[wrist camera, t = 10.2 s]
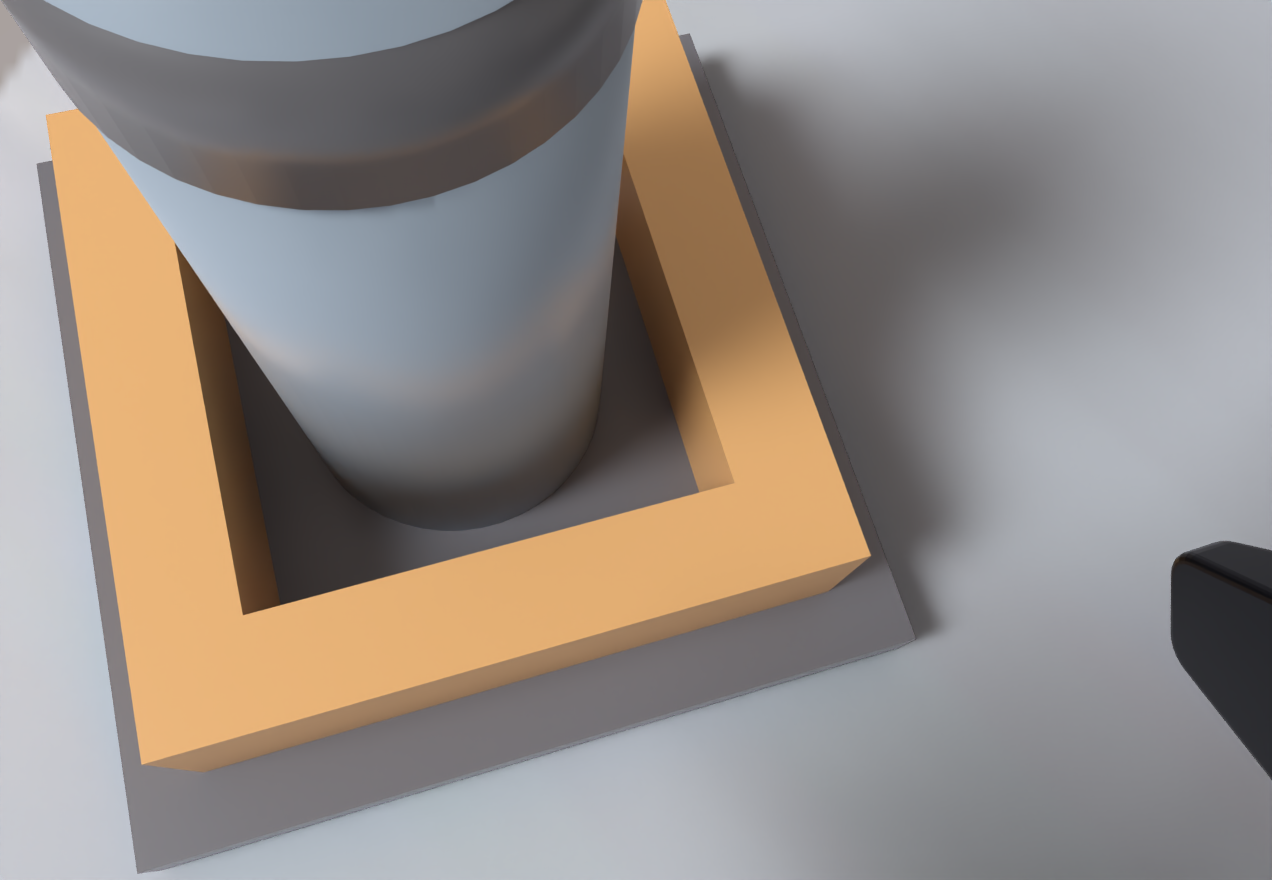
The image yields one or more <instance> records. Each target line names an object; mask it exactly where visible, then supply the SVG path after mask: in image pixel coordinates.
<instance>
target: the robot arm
mask: <svg viewBox="0 0 1272 880" xmlns="http://www.w3.org/2000/svg"><path fill="white" fill-rule="evenodd" d="M1171 640H1172V645H1173V649H1174V651H1175V654H1176V656H1177V658H1178V660H1179V662H1180V663H1181V665H1182V666H1183V668H1184V669H1185V671H1186V672H1187V673H1188V674H1189V676H1190V677H1191V678H1192V680H1193V681H1194V682H1195V683H1196V685H1197V686H1198V687H1199V688H1200V690H1201V691H1202V692H1203V693H1204V695H1205V696H1206V697H1207V699H1208V700H1209V701H1210V702H1211V704H1212V705H1213V706H1214V707H1215V709H1216V710H1217V711H1218V712H1219V714H1220V715H1221V716H1222V717H1223V719H1224V720H1225V721H1226V723H1227V724H1228V725H1229V726H1230V728H1231V729H1232V730H1233V731H1234V733H1235V734H1236V735H1237V736H1238V738H1239V739H1240V740H1241V742H1242V743H1243V744H1244V745H1245V747H1246V748H1247V749H1248V750H1249V752H1250V753H1251V754H1252V755H1253V757H1254V758H1255V759H1256V761H1257V762H1258V763H1259V764H1260V766H1261V767H1262V768H1263V769H1264V771H1265V772H1266V773H1267V774H1268V776H1269V777H1270V778H1271V779H1272V550H1267V549H1263V548H1258V547H1254V546H1250V545H1245V544H1241V543H1236V542H1231V541H1219V542H1215V543H1212V544H1209V545H1206V546H1203V547H1200V548H1197V549H1194V550H1190V551H1187V552H1184V553H1183V554H1181V555H1180V556H1178V557H1177V558H1176V559H1175V561H1174V563H1173V566H1172V570H1171Z"/></svg>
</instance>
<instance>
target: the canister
mask: <svg viewBox="0 0 1272 880" xmlns="http://www.w3.org/2000/svg"><path fill="white" fill-rule="evenodd" d="M1 1H2V3H3V4H4V6H5V7H6V9H7V10H8V11H9V13H10V14H11V16H12V17H13V19H14V20H15V22H16V23H17V24H18V26H19V27H20V28H21V30H22V32H23V33H24V35H25V36H26V37H27V39H28V40H29V42H30V43H31V45H32V46H33V48H34V49H35V50H36V52H37V53H38V55H39V56H40V58H41V59H42V61H43V62H44V63H45V65H46V66H47V68H48V69H49V71H50V72H51V74H52V75H53V76H54V78H55V79H56V81H57V82H58V83H59V85H60V86H61V87H62V89H63V90H64V91H65V93H66V94H67V95H68V97H69V98H70V99H71V100H72V102H73V103H74V104H75V106H76V107H77V108H78V110H79V111H80V112H81V113H82V114H83V115H84V116H85V117H87V118H88V119H89V120H90V121H91V122H92V123H93V124H94V125H95V126H96V127H97V129H98V130H99V132H100V133H101V135H102V136H103V138H104V139H105V141H106V142H107V143H108V145H109V146H110V148H111V149H112V151H113V152H114V154H115V155H116V157H117V158H118V160H119V161H120V163H121V164H122V166H123V167H124V168H125V170H126V171H127V173H128V174H129V176H130V177H131V179H132V180H133V182H134V183H135V185H136V186H137V188H138V189H139V190H140V192H141V193H142V195H143V196H144V198H145V199H146V201H147V202H148V204H149V205H150V207H151V208H152V210H153V211H154V213H155V214H156V215H157V217H158V218H159V220H160V221H161V223H162V224H163V226H164V227H165V229H166V230H167V232H168V233H169V235H170V236H171V237H172V239H173V240H174V242H175V243H176V245H177V246H178V248H179V249H180V251H181V252H182V254H183V255H184V257H185V258H186V260H187V261H188V262H189V264H190V265H191V267H192V268H193V270H194V271H195V273H196V274H197V276H198V277H199V279H200V280H201V282H202V283H203V284H204V286H205V287H206V289H207V290H208V292H209V293H210V295H211V296H212V298H213V299H214V301H215V302H216V304H217V305H218V307H219V308H220V309H221V311H222V312H223V314H224V315H225V317H226V318H227V320H228V321H229V323H230V324H231V326H232V327H233V329H234V330H235V331H236V333H237V334H238V336H239V337H240V339H241V340H242V342H243V343H244V345H245V346H246V348H247V349H248V351H249V352H250V354H251V355H252V356H253V358H254V359H255V361H256V362H257V364H258V365H259V367H260V368H261V370H262V371H263V373H264V374H265V376H266V377H267V378H268V380H269V381H270V383H271V384H272V386H273V387H274V389H275V390H276V392H277V393H278V395H279V396H280V398H281V399H282V400H283V402H284V403H285V405H286V406H287V408H288V409H289V411H290V412H291V414H292V415H293V417H294V418H295V420H296V421H297V423H298V424H299V425H300V427H301V428H302V430H303V431H304V433H305V434H306V436H307V437H308V439H309V440H310V442H311V443H312V445H313V446H314V447H315V449H316V450H317V452H318V453H319V455H320V456H321V458H322V459H323V461H324V462H325V464H326V465H327V467H328V468H329V469H330V471H331V472H332V473H333V475H334V476H335V477H336V479H337V480H338V481H339V483H340V484H341V485H342V486H343V487H344V488H345V489H346V490H347V491H348V492H349V493H350V494H351V495H352V496H354V497H355V498H356V499H358V500H359V501H360V502H362V503H363V504H364V505H366V506H367V507H368V508H370V509H372V510H374V511H376V512H377V513H379V514H381V515H383V516H385V517H387V518H389V519H392V520H395V521H397V522H400V523H402V524H406V525H410V526H414V527H418V528H422V529H430V530H438V531H464V530H471V529H478V528H484V527H487V526H491V525H495V524H498V523H502V522H504V521H507V520H509V519H511V518H514V517H516V516H519V515H521V514H522V513H524V512H526V511H528V510H529V509H531V508H533V507H535V506H537V505H538V504H539V503H541V502H542V501H543V500H545V499H546V498H547V497H549V496H550V495H551V494H552V493H553V492H554V491H555V490H556V489H557V488H559V487H560V486H561V485H562V484H563V483H564V482H565V481H566V479H567V478H568V477H569V476H570V474H571V473H572V472H573V470H574V469H575V468H576V467H577V465H578V464H579V462H580V460H581V458H582V457H583V455H584V453H585V452H586V450H587V448H588V445H589V443H590V440H591V438H592V436H593V433H594V429H595V425H596V422H597V418H598V412H599V403H600V394H601V383H602V373H603V362H604V352H605V341H606V330H607V320H608V309H609V299H610V288H611V277H612V267H613V256H614V246H615V235H616V224H617V214H618V203H619V193H620V182H621V171H622V161H623V150H624V140H625V129H626V118H627V108H628V97H629V87H630V76H631V65H632V55H633V44H634V34H635V25H636V21H637V18H638V14H639V11H640V7H641V4H642V0H1Z"/></svg>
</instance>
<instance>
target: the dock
mask: <svg viewBox="0 0 1272 880" xmlns="http://www.w3.org/2000/svg"><path fill="white" fill-rule="evenodd" d="M46 120H47V127H48V133H49V140H50V147H51V154H52V161H48V162H43V163H38V164H37V169H38V177H39V184H40V191H41V198H42V205H43V212H44V219H45V226H46V233H47V240H48V247H49V254H50V261H51V268H52V275H53V282H54V289H55V296H56V303H57V310H58V317H59V324H60V331H61V339H62V346H63V353H64V360H65V367H66V374H67V381H68V388H69V395H70V402H71V409H72V416H73V423H74V430H75V437H76V444H77V451H78V458H79V465H80V472H81V479H82V486H83V494H84V501H85V508H86V515H87V522H88V529H89V536H90V543H91V550H92V557H93V564H94V571H95V578H96V585H97V592H98V599H99V606H100V613H101V620H102V627H103V634H104V641H105V648H106V656H107V663H108V670H109V677H110V684H111V691H112V698H113V705H114V712H115V719H116V726H117V733H118V740H119V747H120V754H121V761H122V768H123V775H124V782H125V789H126V796H127V803H128V810H129V818H130V825H131V832H132V839H133V846H134V853H135V860H136V867H137V874H138V873H146V872H153V871H160V870H165V869H168V868H171V867H175V866H178V865H181V864H184V863H188V862H191V861H194V860H198V859H201V858H204V857H208V856H211V855H214V854H218V853H221V852H224V851H228V850H231V849H234V848H237V847H241V846H244V845H247V844H251V843H254V842H257V841H261V840H264V839H267V838H271V837H274V836H277V835H281V834H284V833H287V832H290V831H294V830H297V829H300V828H304V827H307V826H310V825H314V824H317V823H320V822H324V821H327V820H330V819H334V818H337V817H340V816H343V815H347V814H350V813H353V812H357V811H360V810H363V809H367V808H370V807H373V806H377V805H380V804H383V803H387V802H390V801H393V800H396V799H400V798H403V797H406V796H410V795H413V794H416V793H420V792H423V791H426V790H430V789H433V788H436V787H440V786H443V785H446V784H449V783H453V782H456V781H459V780H463V779H466V778H469V777H473V776H476V775H479V774H483V773H486V772H489V771H492V770H496V769H499V768H502V767H506V766H509V765H512V764H516V763H519V762H522V761H526V760H529V759H532V758H536V757H539V756H542V755H545V754H549V753H552V752H555V751H559V750H562V749H565V748H569V747H572V746H575V745H579V744H582V743H585V742H589V741H592V740H595V739H598V738H602V737H605V736H608V735H612V734H615V733H618V732H622V731H625V730H628V729H632V728H635V727H638V726H642V725H645V724H648V723H651V722H655V721H658V720H661V719H665V718H668V717H671V716H675V715H678V714H681V713H685V712H688V711H691V710H695V709H698V708H701V707H704V706H708V705H711V704H714V703H718V702H721V701H724V700H728V699H731V698H734V697H738V696H741V695H744V694H748V693H751V692H754V691H757V690H761V689H764V688H767V687H771V686H774V685H777V684H781V683H784V682H787V681H791V680H794V679H797V678H801V677H804V676H807V675H810V674H814V673H817V672H820V671H824V670H827V669H830V668H834V667H837V666H840V665H844V664H847V663H850V662H854V661H857V660H860V659H863V658H867V657H870V656H873V655H877V654H880V653H883V652H887V651H890V650H893V649H897V648H899V647H901V646H903V645H905V644H907V643H909V642H911V641H913V640H915V639H916V637H915V634H914V632H913V629H912V626H911V624H910V621H909V618H908V616H907V613H906V610H905V607H904V605H903V602H902V599H901V597H900V594H899V591H898V589H897V586H896V583H895V581H894V578H893V575H892V573H891V570H890V567H889V565H888V562H887V559H886V557H885V554H884V551H883V549H882V546H881V543H880V541H879V538H878V535H877V533H876V530H875V527H874V525H873V522H872V519H871V517H870V514H869V511H868V509H867V506H866V503H865V501H864V498H863V495H862V493H861V490H860V487H859V485H858V482H857V479H856V477H855V474H854V471H853V469H852V466H851V463H850V460H849V458H848V455H847V452H846V450H845V447H844V444H843V442H842V439H841V436H840V434H839V431H838V428H837V426H836V423H835V420H834V418H833V415H832V412H831V410H830V407H829V404H828V402H827V399H826V396H825V394H824V391H823V388H822V386H821V383H820V380H819V378H818V375H817V372H816V370H815V367H814V364H813V362H812V359H811V356H810V354H809V351H808V348H807V346H806V343H805V340H804V338H803V335H802V332H801V330H800V327H799V324H798V321H797V319H796V316H795V313H794V311H793V308H792V305H791V303H790V300H789V297H788V295H787V292H786V289H785V287H784V284H783V281H782V279H781V276H780V273H779V271H778V268H777V265H776V263H775V260H774V257H773V255H772V252H771V249H770V247H769V244H768V241H767V239H766V236H765V233H764V231H763V228H762V225H761V223H760V220H759V217H758V215H757V212H756V209H755V207H754V204H753V201H752V199H751V196H750V193H749V191H748V188H747V185H746V183H745V180H744V177H743V174H742V172H741V169H740V166H739V164H738V161H737V158H736V156H735V153H734V150H733V148H732V145H731V142H730V140H729V137H728V134H727V132H726V129H725V126H724V124H723V121H722V118H721V116H720V113H719V110H718V108H717V105H716V102H715V100H714V97H713V94H712V92H711V89H710V86H709V84H708V81H707V78H706V76H705V73H704V70H703V68H702V65H701V62H700V60H699V57H698V54H697V52H696V49H695V46H694V44H693V41H692V38H691V36H690V34H685V35H680V36H679V35H678V33H677V30H676V27H675V25H674V22H673V19H672V17H671V14H670V11H669V8H668V6H667V3H666V0H642V4H641V7H640V11H639V14H638V18H637V21H636V25H635V34H634V44H633V55H632V65H631V76H630V87H629V97H628V108H627V118H626V129H625V140H624V150H623V161H622V171H621V182H620V193H619V203H618V214H617V224H616V235H615V246H614V256H613V267H612V277H611V288H610V299H609V309H608V320H607V330H606V341H605V352H604V362H603V373H602V383H601V394H600V403H599V412H598V418H597V422H596V425H595V429H594V433H593V436H592V438H591V440H590V443H589V445H588V448H587V450H586V452H585V453H584V455H583V457H582V458H581V460H580V462H579V464H578V465H577V467H576V468H575V469H574V470H573V472H572V473H571V474H570V476H569V477H568V478H567V479H566V481H565V482H564V483H563V484H562V485H561V486H560V487H559V488H557V489H556V490H555V491H554V492H553V493H552V494H551V495H550V496H549V497H547V498H546V499H545V500H543V501H542V502H541V503H539V504H538V505H537V506H535V507H533V508H531V509H529V510H528V511H526V512H524V513H522V514H521V515H519V516H516V517H514V518H511V519H509V520H507V521H504V522H502V523H498V524H495V525H491V526H487V527H484V528H478V529H471V530H464V531H438V530H430V529H422V528H418V527H414V526H410V525H406V524H402V523H400V522H397V521H395V520H392V519H389V518H387V517H385V516H383V515H381V514H379V513H377V512H376V511H374V510H372V509H370V508H368V507H367V506H366V505H364V504H363V503H362V502H360V501H359V500H358V499H356V498H355V497H354V496H352V495H351V494H350V493H349V492H348V491H347V490H346V489H345V488H344V487H343V486H342V485H341V484H340V483H339V481H338V480H337V479H336V477H335V476H334V475H333V473H332V472H331V471H330V469H329V468H328V467H327V465H326V464H325V462H324V461H323V459H322V458H321V456H320V455H319V453H318V452H317V450H316V449H315V447H314V446H313V445H312V443H311V442H310V440H309V439H308V437H307V436H306V434H305V433H304V431H303V430H302V428H301V427H300V425H299V424H298V423H297V421H296V420H295V418H294V417H293V415H292V414H291V412H290V411H289V409H288V408H287V406H286V405H285V403H284V402H283V400H282V399H281V398H280V396H279V395H278V393H277V392H276V390H275V389H274V387H273V386H272V384H271V383H270V381H269V380H268V378H267V377H266V376H265V374H264V373H263V371H262V370H261V368H260V367H259V365H258V364H257V362H256V361H255V359H254V358H253V356H252V355H251V354H250V352H249V351H248V349H247V348H246V346H245V345H244V343H243V342H242V340H241V339H240V337H239V336H238V334H237V333H236V331H235V330H234V329H233V327H232V326H231V324H230V323H229V321H228V320H227V318H226V317H225V315H224V314H223V312H222V311H221V309H220V308H219V307H218V305H217V304H216V302H215V301H214V299H213V298H212V296H211V295H210V293H209V292H208V290H207V289H206V287H205V286H204V284H203V283H202V282H201V280H200V279H199V277H198V276H197V274H196V273H195V271H194V270H193V268H192V267H191V265H190V264H189V262H188V261H187V260H186V258H185V257H184V255H183V254H182V252H181V251H180V249H179V248H178V246H177V245H176V243H175V242H174V240H173V239H172V237H171V236H170V235H169V233H168V232H167V230H166V229H165V227H164V226H163V224H162V223H161V221H160V220H159V218H158V217H157V215H156V214H155V213H154V211H153V210H152V208H151V207H150V205H149V204H148V202H147V201H146V199H145V198H144V196H143V195H142V193H141V192H140V190H139V189H138V188H137V186H136V185H135V183H134V182H133V180H132V179H131V177H130V176H129V174H128V173H127V171H126V170H125V168H124V167H123V166H122V164H121V163H120V161H119V160H118V158H117V157H116V155H115V154H114V152H113V151H112V149H111V148H110V146H109V145H108V143H107V142H106V141H105V139H104V138H103V136H102V135H101V133H100V132H99V130H98V129H97V127H96V126H95V125H94V124H93V123H92V122H91V121H90V120H89V119H88V118H87V117H85V116H84V115H83V114H82V113H81V112H80V111H79V110H78V109H74V110H69V111H64V112H59V113H54V114H49V115H46Z"/></svg>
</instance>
